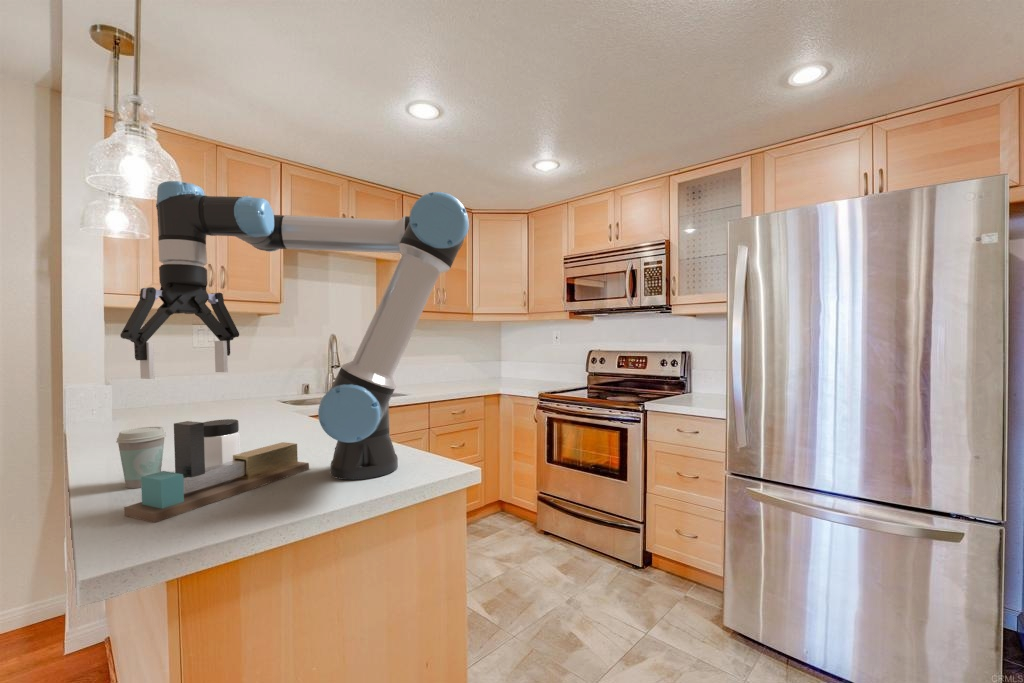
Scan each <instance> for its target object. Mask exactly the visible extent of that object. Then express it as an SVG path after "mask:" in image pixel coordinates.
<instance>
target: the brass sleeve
mask: <svg viewBox="0 0 1024 683" xmlns="http://www.w3.org/2000/svg"><path fill="white" fill-rule="evenodd" d="M237 459H244V460H246V475H244V476H241V477H237V478H241V479H248V480H249V479H252V478H255V477H258V476H261V475H264V474H267V473H271V472H274V471H277V470H280V469H283V468H286V467H289V466H292V465H295V464H298V462H299V461H298V443H294V442H285V441H284V442H279V443H278V442H277V443H275V444H269V445H266V446H264V447H259V448H256V449H252V450H248V451H244V452H240V454H236V455H233V460H237Z"/></svg>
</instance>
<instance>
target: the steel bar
mask: <svg viewBox="0 0 1024 683" xmlns="http://www.w3.org/2000/svg"><path fill="white" fill-rule="evenodd" d="M173 439H174V440H173V441H174V446H173V447H174V473H179V474H183V487H184V494H186V493H189V492H192V491H196V490H199V489H202V488H205V487H209V486H212V485H215V484H218V483H221V482H225V481H228V480H231V479H234V478H237V477H241V476H244V475H246V460H244V459H237V460H233V461H229V462H226V463H222V464H218V465H215V466H211V467H207V468H205V454H204V423H203V422H199V421H192V420H191V421H190V420H187V421H186V420H185V421H181V422H174V423H173Z"/></svg>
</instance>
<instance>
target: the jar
mask: <svg viewBox="0 0 1024 683" xmlns="http://www.w3.org/2000/svg"><path fill="white" fill-rule="evenodd" d="M203 423H204V454H205V468H207V467H211V466H215V465H218V464H222V463H226V462H229V461H233V455H236V454H240V453H241V444H240V442H241V441H240V440H241V439H240V435H241V434H240V430H239V428H240V426H239V420H238V419H235V418H234V419H233V418H231V419H229V418H228V419H216V420H208V421H204V422H203Z"/></svg>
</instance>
